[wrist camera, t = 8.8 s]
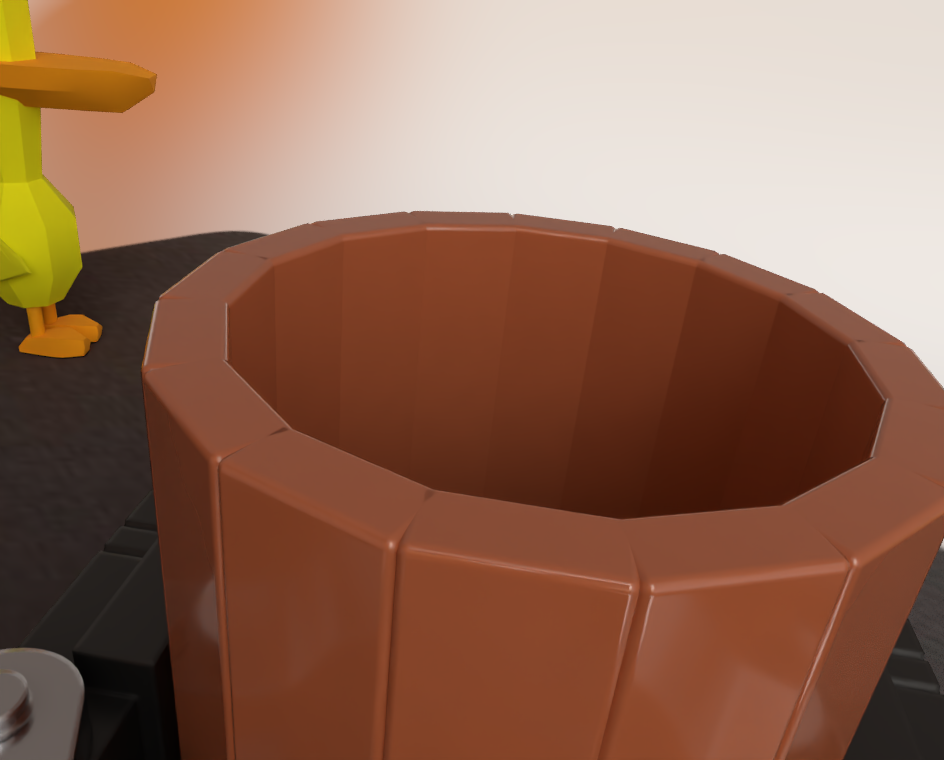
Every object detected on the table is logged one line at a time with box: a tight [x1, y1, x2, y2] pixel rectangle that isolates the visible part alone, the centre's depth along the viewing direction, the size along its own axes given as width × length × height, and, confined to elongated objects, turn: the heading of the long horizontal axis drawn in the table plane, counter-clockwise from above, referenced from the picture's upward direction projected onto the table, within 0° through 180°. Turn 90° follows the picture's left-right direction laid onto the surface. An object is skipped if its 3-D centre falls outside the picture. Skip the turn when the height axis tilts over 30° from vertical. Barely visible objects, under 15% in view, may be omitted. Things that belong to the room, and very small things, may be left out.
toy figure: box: [0, 0, 157, 358], centre depth 23 cm, size 7×4×12 cm, turn 94°
